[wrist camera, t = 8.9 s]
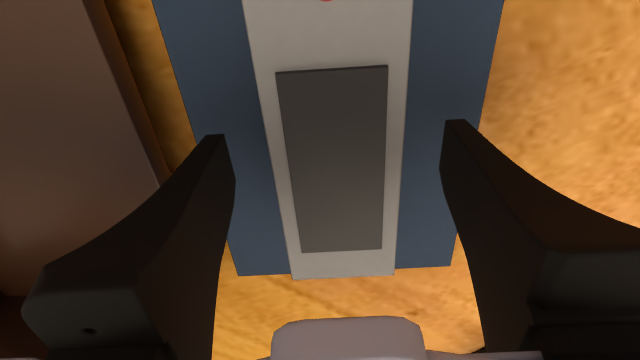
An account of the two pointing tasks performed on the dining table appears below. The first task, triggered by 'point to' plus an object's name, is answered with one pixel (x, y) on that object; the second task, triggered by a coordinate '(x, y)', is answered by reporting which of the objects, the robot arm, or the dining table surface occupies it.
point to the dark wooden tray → (63, 145)
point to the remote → (334, 127)
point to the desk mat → (249, 132)
